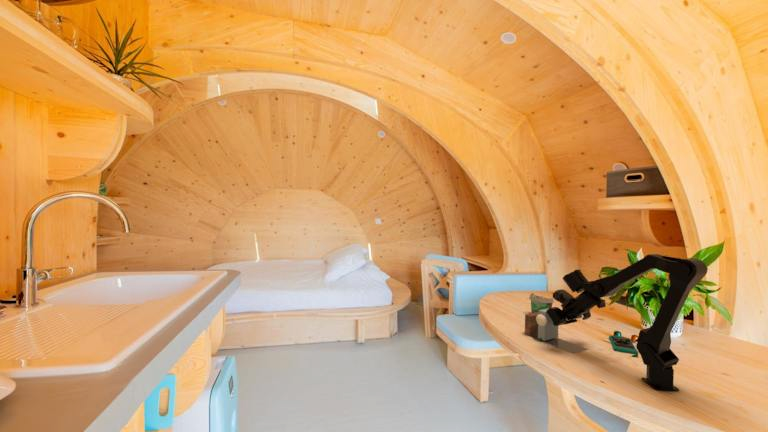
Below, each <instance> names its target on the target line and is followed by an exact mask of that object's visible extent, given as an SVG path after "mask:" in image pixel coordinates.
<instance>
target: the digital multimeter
mask: <svg viewBox="0 0 768 432" xmlns="http://www.w3.org/2000/svg"><path fill="white" fill-rule="evenodd" d="M608 340H609V342H610V343H611V346H612V350H613V351H615V352H618V353H624V354H628V355H629V354H630V355H631V356H630V357H632V358H638V357H639V352H638V350H637V348H636V346H635V345H634V343H633V340H632V339H631V338H629V337H626V336H621V335H620V336H619V335H609V336H608Z"/></svg>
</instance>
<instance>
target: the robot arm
mask: <svg viewBox="0 0 768 432" xmlns="http://www.w3.org/2000/svg"><path fill="white" fill-rule="evenodd" d="M655 269H656V270H658V271H661V272H663V273H667V274H669V275H668V278H669V280H668V281H669V287H668V289H667V292H666V294H665V296H664V298H663V300H662V303H661V305H660V307H659V310H658V312H657V313H656V315H655V318H654V320H653V322H652V325H651V326H650V327H646V328H644V329H640V330H639V333H638V337H637V338H636V340H634V341H635V342H636V345H635V348H636V350H637V351H638V354H639V355H640V356H641V357H640V358H641V359H642V362H643V365H645V366H646V375H645V376H646V377H641V378H640V379H641V381H643V382H644V383H646V384H647V385H648V386H650V387H651V388H652V389H654V390H656V391H672V392H679V391H680V388H679V387H676V386H675V385H674V378H675V377H674V376H675V373H674V372H675V370H674V368H673V366H676V365H677V364H678V363H679V361H680V358H679V357H678V356H677V355H676V353H675V352H673V350H672V349H671V344H672V338H671V332H672V330H673V328H674V326H675V324H676V322H677V320H678V318H679V315H680V314H681V312H682V309H683V307H684V305H685V302H686V300H687V298H688V297H689V295H690V292H691V291H692V290H693V289H694V288H695V287H696V286H697V285H699V283H701V282H702V280H703V279H704V278H705V276H706V275H707V274H708V271H709V270H708V266H707V264H706V263H705V262H704V261H702V260H701V259H699V258H695V257H689V258H680V257H673V256H668V255H667V256H666V255H663V254H659V253H653V254H652V253H651V254H646V255H645V256H643V258H641V259H638V260H637V261H636V262H634V263H632V264H630V265H628V266H626V267H625V268H623V269H621V270H620V271H617V272H615V273H614V274H611V275H609V276H605V277H602V278H598V279H595V280H590V281H589V280H588V279H587V278H586V276H585V275H584V274H583V273H582V271H581V270H580V269H579V268H578V269H575V270H574V271H571V272H569V273H567V274H565V275H564V276H563V277H562V280H563V282H564V283H565V284H566V285H567V286H568V288H569V290H571V292H572V293H577V294H578V295H577V296H576V297H575V296H573V295H572V294H571V293H570V292H568V291H567V290H565V289H557V290H555V291H554V292H552V298H553V300H555V301H556V302H559V303H560V304H561V305H560V306H561V308H560V307H558V306H552V308H549V309H548V310H546V312H547V314H548V315H549V317H550V318H551V320H552V321H553V324H554V326H558V327H559V326H562V325H563V326H564V325H568V324H569V325H570V324H573V323H577V322H578V319H581V320H583V321H586V320H588V319H590V318H591V317H592V314H591V309H592V308H594V307H597V308H598V309H603V308H606V307H607V306H606V300H605V299H603V298H607V297H610V296H614V295H616V293H618V292H619V291H621V289H622V288H623V287H624V286H625V285H627V284H628V283H630V282H632V281H634V280H636V279H639V278H640V277H641V276H644V275H646V274H648V273H649V272H651V271H654V270H655Z"/></svg>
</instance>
